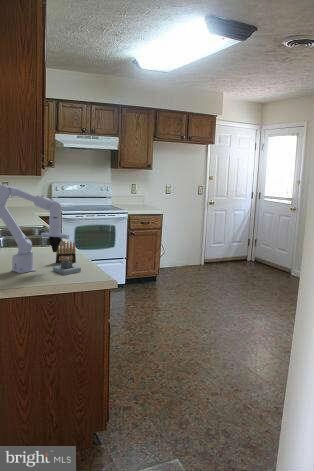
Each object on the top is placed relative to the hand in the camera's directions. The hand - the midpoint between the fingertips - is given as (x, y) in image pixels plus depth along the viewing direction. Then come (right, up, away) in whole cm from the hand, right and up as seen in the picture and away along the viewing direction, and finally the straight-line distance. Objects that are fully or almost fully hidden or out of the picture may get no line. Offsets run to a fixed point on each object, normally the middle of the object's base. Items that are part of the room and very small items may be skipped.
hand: (55, 251), depth 209 cm
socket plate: (+6, -10, 0) cm, 12 cm away
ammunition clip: (+1, -7, +18) cm, 20 cm away
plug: (+6, -10, 0) cm, 12 cm away
